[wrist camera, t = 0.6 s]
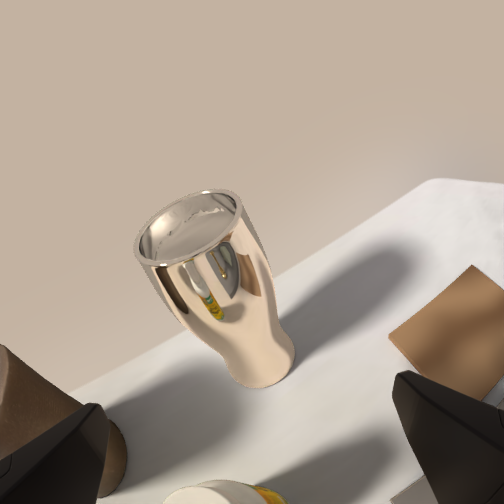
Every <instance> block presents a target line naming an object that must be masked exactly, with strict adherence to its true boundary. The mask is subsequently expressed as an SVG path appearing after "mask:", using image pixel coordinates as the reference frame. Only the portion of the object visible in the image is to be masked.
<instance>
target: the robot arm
mask: <svg viewBox="0 0 504 504" xmlns="http://www.w3.org/2000/svg"><path fill="white" fill-rule="evenodd" d="M392 398H393V402H394V404H395V407H396V410H397V412H398V415H399V418H400V421H401V423H402V426H403V429H404V432H405V434H406V437H407V439H408V441H409V444H410V446H411V448H412V450H413V452H414V454H415V456H416V458H417V460H418V462H419V464H420V466H421V468H422V470H423V472H424V474H425V476H426V478H427V480H428V483H429V485H430V487H431V489H432V491H433V493H434V495H435V498H436V500H437V502H438V504H504V410H502V409H500V408H499V409H498V408H497V407H494V406H492V405H489V404H487V403H485V402H482V401H480V400H477V399H475V398H472V397H470V396H468V395H465V394H463V393H460V392H458V391H456V390H453V389H451V388H449V387H446V386H444V385H442V384H440V383H437V382H435V381H433V380H430V379H428V378H426V377H424V376H421V375H419V374H417V373H415V372H412V371H410V370H406V371H403V372H400V373H398V374H397V375H396V377H395V381H394V386H393V391H392ZM109 434H110V422H109V420H108V418H107V416H106V414H105V412H104V410H103V408H102V406H101V405H100V404H97V403H87V404H85V405H84V406H82V407H81V408H79V409H78V410H76V411H75V412H73V413H72V414H70V415H69V416H68V417H66V418H65V419H63V420H62V421H60V422H59V423H57V424H56V425H54V426H52V427H51V428H49V429H48V430H46V431H45V432H43V433H42V434H40V435H39V436H37V437H36V438H34V439H33V440H31V441H30V442H28V443H26V444H25V445H23V446H22V447H20V448H19V449H17V450H16V451H14V452H13V453H11V454H9V455H8V456H6V457H4V458H3V459H1V460H0V504H96V500H97V496H98V492H99V487H100V483H101V479H102V475H103V471H104V467H105V461H106V454H107V447H108V441H109Z"/></svg>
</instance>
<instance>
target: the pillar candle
mask: <svg viewBox="0 0 504 504" xmlns="http://www.w3.org/2000/svg"><path fill="white" fill-rule="evenodd" d="M82 406H84V405H83V404H81V403H80V402H78V401H77V400H75V399H74V398H72V397H71V396H69V395H67V394H66V393H64V392H63V391H61V390H60V389H59V388H57V387H56V386H55V385H53V384H52V383H50V382H49V381H47V380H46V379H44V378H43V377H42V376H41V375H39V374H38V373H37V372H36V371H34V370H33V369H32V368H31V367H29V366H28V365H26V364H25V363H24V362H23V361H22V360H20V359H19V358H18V357H17V356H16V355H14V354H13V353H12V352H11V351H10V350H9V349H8V348H7V347H5V346H4V345H1V344H0V460H1V459H3V458H4V457H6V456H8V455H9V454H11V453H13V452H14V451H16V450H17V449H19V448H20V447H22V446H23V445H25V444H26V443H28V442H30V441H31V440H33V439H34V438H36V437H37V436H39V435H40V434H42V433H43V432H45V431H46V430H48V429H49V428H51V427H52V426H54V425H56V424H57V423H59V422H60V421H62V420H63V419H65V418H66V417H68V416H69V415H70V414H72V413H73V412H75V411H76V410H78V409H79V408H81V407H82ZM108 420H109V422H110V434H109V441H108V447H107V454H106V461H105V467H104V471H103V475H102V479H101V483H100V487H99V492H98V496H97V498H101V497H103V496H107V495H108V494H110V493H111V492H112V491H113V490H114V489H115V488H116V487H117V486H118V485H119V483H120V481H121V479H122V477H123V474H124V471H125V465H126V457H127V449H126V445H125V440H124V438H123V435H122V433H120V432H121V431H120V430H119V428H118V427H117V426H116V425H115V423H113V422H112V421H111V420H110V419H108Z"/></svg>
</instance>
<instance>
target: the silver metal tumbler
mask: <svg viewBox="0 0 504 504" xmlns="http://www.w3.org/2000/svg"><path fill="white" fill-rule="evenodd" d="M134 254H135V257H136V258H137V260H138V261H139V262H140V264H141V266H142V267H143V269H144V270H145V273H146V274H147V276H148V278H149V280H150V281H151V283H152V285H153V286H154V288H155V290H156V291H157V293H158V294H159V296H160V297H161V299H162V300H163V301H164V303H165V304H166V306H167V307H168V309H169V310H170V311H171V312H172V313H173V314H174V316H175V317H176V318H177V319H178V320H179V322H180V323H181V324H182V325H184V326H185V327H186V328H187V329H188V330H189V331H190V332H191V333H192V334H193V335H195V336H196V337H197V338H199V339H200V340H201V341H202V342H204V343H205V344H206V345H208V346H209V347H211V348H212V349H213V350H215V351H216V352H217V353H219V354H220V355H221V356H222V357H223V359H224V361H225V363H226V366H227V368H228V370H229V372H230V374H231V376H232V377H233V378H234V379H235V380H236V381H237V382H238V383H240V384H242V385H244V386H246V387H250V388H264V387H268V386H271V385H273V384H275V383H277V382H278V381H280V380H281V379H282V378H284V377H285V376H286V375H287V373H288V372H289V371H290V369H291V367H292V365H293V362H294V357H295V350H294V346H293V343H292V341H291V339H290V338H289V336H288V335H287V334H286V333H285V332H284V330H283V329H282V328H281V326H280V324H279V319H278V312H277V302H276V294H275V287H274V282H273V277H272V273H271V269H270V266H269V263H268V260H267V257H266V254H265V251H264V249H263V246H262V244H261V242H260V239H259V237H258V235H257V233H256V231H255V229H254V227H253V225H252V223H251V221H250V219H249V217H248V215H247V213H246V211H245V209H244V206H243V204H242V201H241V199H240V197H239V196H238V195H237V194H235V193H234V192H232V191H229V190H224V189H210V190H203V191H199V192H196V193H193V194H189V195H187V196H184V197H182V198H180V199H178V200H176V201H174V202H172V203H170V204H169V205H167V206H166V207H164V208H163V209H161V210H160V211H159V212H157V213H156V214H155V215H154V216H152V217H151V218H150V219H149V221H147V222H146V224H145V225H144V226H143V227H142V229H141V230H140V231H139V233H138V235H137V237H136V239H135V243H134Z"/></svg>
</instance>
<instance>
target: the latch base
mask: <svg viewBox="0 0 504 504" xmlns="http://www.w3.org/2000/svg"><path fill="white" fill-rule="evenodd" d="M497 408H498V409H499V408H500V409H502V410H504V399H503V400H502V401H501V402H500V403H499V405H498V406H497ZM390 502H391V503H392V504H438V502H437V500H436V498H435V495H434V493H433V491H432V489H431V487H430V485H429V483H428V480H427V478H426V476H425V475H424V476H423V477H422V478H420V479H419V480H418V481H416V482H415V483H413V484H412V485H411V486H409V487H408V488H407V489H405V490H404V491H402V492H401V493H399V494H398V495H396V496H395V497H393V498H392V499H390Z"/></svg>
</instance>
